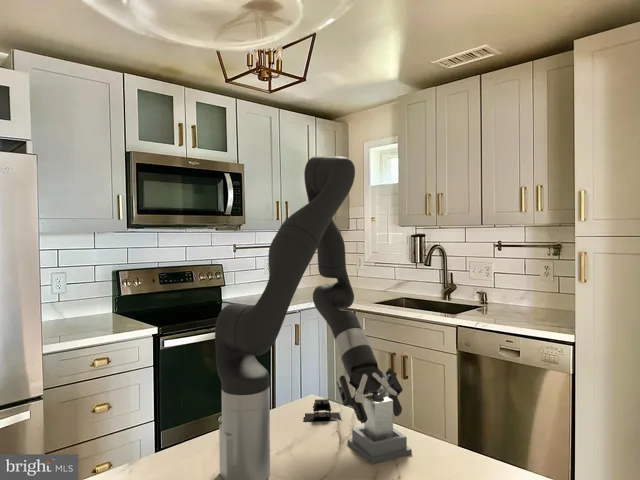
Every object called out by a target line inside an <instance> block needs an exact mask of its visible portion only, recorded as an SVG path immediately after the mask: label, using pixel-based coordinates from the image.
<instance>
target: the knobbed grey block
mask: <svg viewBox="0 0 640 480" xmlns="http://www.w3.org/2000/svg"><path fill="white" fill-rule="evenodd" d="M363 396H364V397H363V400H364V401H363V407H364V410H365V412H366V415H367V421H366V422H365V423H363V424H364V425H363V426H364V434H365V435H366V436H367V437H368V438H370V439H371V440H372V441H373V442H376V441H380V440H384V439H389V438H393V428H394V413H393V400H392V399H390V398H389V397H387V396H385V395H384V393H382V392H374V393H372V394H370V395H363Z"/></svg>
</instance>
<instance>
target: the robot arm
mask: <svg viewBox="0 0 640 480" xmlns="http://www.w3.org/2000/svg"><path fill="white" fill-rule="evenodd" d="M303 175H304V178H303V179H304V187H305V192H306V196H307V201H308V203H306V204H305V205H304V206H302V207H301V208H300V209H297V211H295V212H294V213H292V214H291V215H289V217H287V218H286V219H285V220H284V221H283V223H282V224H281V225H280V227H279V229H278V230H277V232H276V234H275V236H274V237H273V239H272V241H271V243H270V244H269V245H270V246H269V249H268V271H269V272H268V273H269V274H268V280H267V283H266V286H265V287H264V290H263V292H262V293H261V296H260V297H259V299H258V300H257V302H256V303H255V304H254V305H253V304H248V303H238V302H236V303H235V302H234V303H230V304H227V305H226V306H224V307H223V308H222V309H221V310H220V312H219V314H218V317H217V318H216V322H215V327H214V343H215V345H214V346H215V360H216V361H215V362H216V370H217V371H216V372H217V376H218V377H219V379H220V383H221V384H220V385H221V387H220V389H221V423H220V424H219V426H218V432H219V433H218V434H219V435H218V436H219V438H218V440H219V441H218V442H219V443H218V444H219V445H218V446H219V448H218V449H219V474H220V476H221V478H222V480H267V479H268V478H269V477H270V475H271V419H270V418H271V415H270V414H271V407H270V406H271V403H270V401H271V400H270V373H269V371H268V369H266V368H265V366H263V365H262V364H261V363H260V362H259V361H258V360H257V358H256V356H262V355H263V354H265V353H267V352H268V351H269V350H270V349H271V348H272V346H273V345H274V343H275V342H276V340H277V338H278V337H279V334H280V332H281V328H282V326H283V323H284V321H285V318H286V316H287V313H288V309H289V308H290V306H291V303H292V300H293V298H294V295H295V293H296V291H297V288H298V286H299V285H300V283H301V280H302V278H303V276H304V275H305V272H306V271H307V269H308V266H309V265H310V263H311V261H312V260H313V257H314V255H315V253H316V252H317V268H318V273H319V275H320V276H321V277H324V278H326V279H327V278H328V279H336V282H332V283H325V284H321V285H318V286H316V287H315V288H314V290H313V292H312V303H313V305H314V306H315V308H316V311H318V312H319V314H320V315H321V317H322V318H323V319H324V321H325V322H326V323H327V324H328V326H329V327H330V328H329V329H331V332H332V336H333V337H334V341H335V343H336V349H337V351H338V355H339V356H340V360H341V361H342V364H343V367H344V370H345V372H346V373H345V374H346V375H347V376H346V375H345V376H344V375H341V376H340V377H339V378H338V379H337V381H336V385H337V388H338V392H339V395H340V398H341V401H342V405H343V406H344V407H347V406H350V407H351V408H353V411H354V413H355V416H356V419H357V421H358V422H360V423H361V424H364V423H365V422H366V421H367V415H366V412H365V410H364V404H363V403H362V402H361V399H362V396H368V394H373V393H374V392H382V393H384V395H385V396H387V397H389V398H390V399H392V400H393V416H394V417H399V416H400V415H401V414H402V411H403V408H402V404H401V402H400V400H399V399H398V397H399V395H400V394H401V393H402V392H403V391H404V390H403V387H402V386H401V384H400V382H399V379H398V377H397V375H396V374H395V372H394V370H393V369H392V368H391V367H389V368H388V369H387V370H385V371H384V370H383V371H382V370H381V369H379V365H378V361H377V359H376V356H375V354H374V352H373V349H372V347H371V345H370V342H369V340H368V337H367V336H366V334H365V332H364V331H363V328H362V326H361V324H360V322H359V319H358V317H357V315H356V313H355V312H353V311H351V310H345V309H348V308H350V307H352V306H353V304H354V300H355V293H354V290H353V288H352V287H353V286H352V285H351V281H350V279H349V276H348V271H347V266H346V265H347V262H346V245H345V240H344V238H343V235H342V233H341V232H340V229H339V228H338V226H337V224H336V223H335V221H334V219H333V218H334V217H335V215H336V214H337V211H338V210H339V209H340V207H341V206H342V204H343V202H344V201H345V199H346V198H347V196H348V195H349V193H350V191H351V189H352V187H353V185H354V182H355V177H356V167H355V164H354V162H353V161H352V159H350V158H349V157H345V156H326V155H325V156H323V155H322V156H319V155H318V156H312V157H311V158H310V159H308V161H307V162H306V163H305V168H304V174H303ZM349 385H351V386H352V387H353V388H354V392H353V396H352V395H351V392H350V388H349Z"/></svg>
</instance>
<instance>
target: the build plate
mask: <svg viewBox="0 0 640 480" xmlns="http://www.w3.org/2000/svg"><path fill="white" fill-rule="evenodd" d="M312 408H313V409H312V411H313V412H306V413H305V412H304V413H305V417H304V418H303V417H302V422H303V423H321V422H322V423H323V422H328V423H329V422H342V421H343V420H342V417H341V413H340V412H339V411H337V412H335V411H334V412H331V411H332V406H331V403H330V400H329V398H326V399H325V398H323V399H322V398H321V399H320V398H319V399H314V403H313V406H312ZM320 411H321V412H320ZM322 411H323V412H322ZM303 419H304V420H303Z"/></svg>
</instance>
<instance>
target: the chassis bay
mask: <svg viewBox="0 0 640 480" xmlns="http://www.w3.org/2000/svg"><path fill="white" fill-rule="evenodd" d="M351 430H352V431H351V433H352V434H351V435H352V436H351V438H348V439H347V444H348V446H349V447H351V449H353V450H354V451H355V452H356V453H358V454H359V455H360V456H361V457H362V458H363V459H364V460H365V461H367V462H368V463H369V464H370V465H373V464H378V463H381V462H384V461H385V462H386V461H389V460H394V459H397V458H401V457H405V456H408V455H412V453H413V451H412V448H410V447H409V446H408V445H407V443H408V442H407V441H408V440H407V439H408V437H407V436H406V435H405V434H403V433H402V432H400V431H399V430H398V429H396V428H395V427H393V438H389V439H384V440H380V441H376V442H373V441H372V440H371V439H370V438H368V437H367V436H366V435H365V434H364V425H363V426H360V427H355V428H352V429H351Z"/></svg>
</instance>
